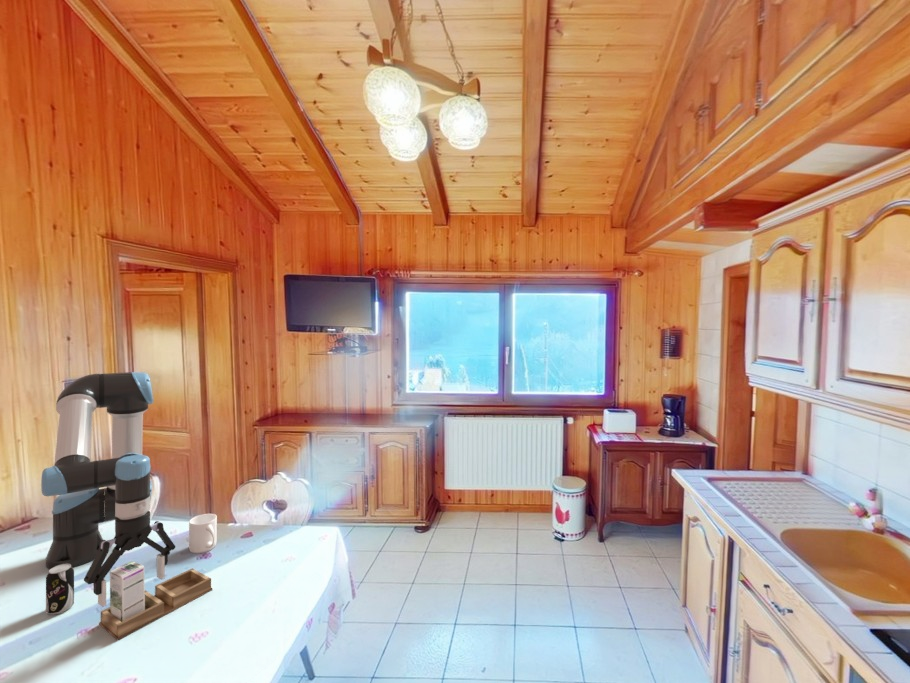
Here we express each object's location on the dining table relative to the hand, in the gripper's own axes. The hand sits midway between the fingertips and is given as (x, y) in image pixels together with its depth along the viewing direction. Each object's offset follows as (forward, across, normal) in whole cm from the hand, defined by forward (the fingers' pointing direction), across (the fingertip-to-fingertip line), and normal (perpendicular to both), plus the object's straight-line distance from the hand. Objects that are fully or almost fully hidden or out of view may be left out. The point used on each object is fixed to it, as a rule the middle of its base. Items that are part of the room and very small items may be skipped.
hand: (132, 590), depth 112 cm
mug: (+8, +30, +20) cm, 37 cm away
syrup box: (+8, -1, 0) cm, 8 cm away
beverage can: (+8, -8, +22) cm, 25 cm away
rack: (+8, +6, 0) cm, 10 cm away
